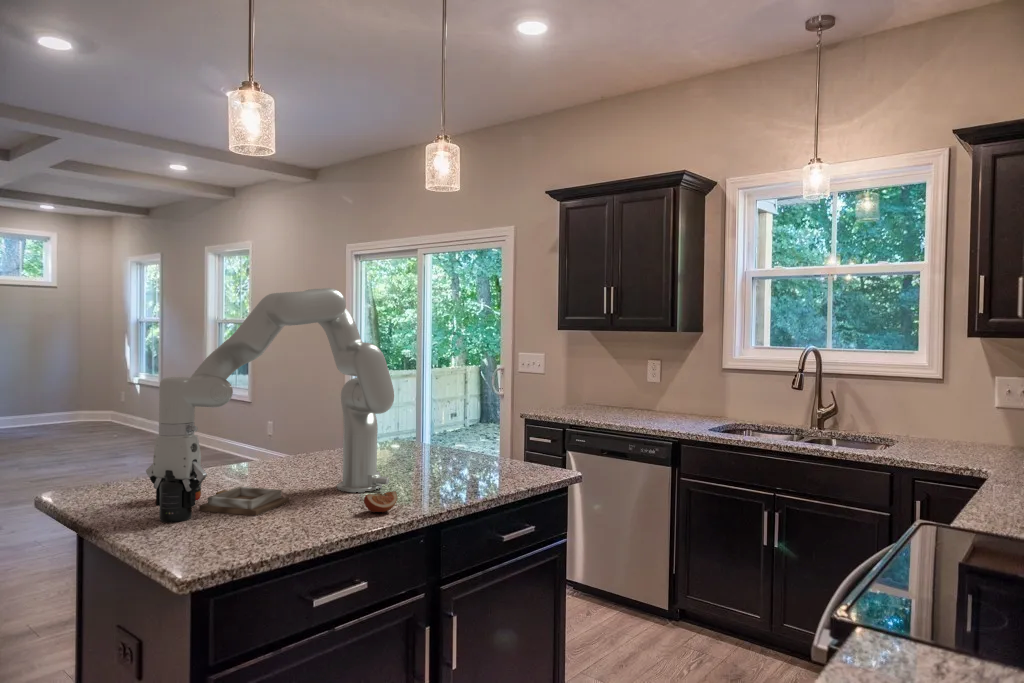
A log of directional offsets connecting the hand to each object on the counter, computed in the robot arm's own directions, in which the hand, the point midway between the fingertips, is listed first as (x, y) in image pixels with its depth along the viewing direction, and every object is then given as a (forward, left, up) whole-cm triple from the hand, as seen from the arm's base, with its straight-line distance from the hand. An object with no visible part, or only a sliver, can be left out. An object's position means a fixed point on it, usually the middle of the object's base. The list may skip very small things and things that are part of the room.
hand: (175, 505), depth 156 cm
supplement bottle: (0, 0, -3) cm, 3 cm away
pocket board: (-8, -15, -3) cm, 17 cm away
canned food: (+11, -16, -4) cm, 20 cm away
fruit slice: (-43, -20, -4) cm, 48 cm away
